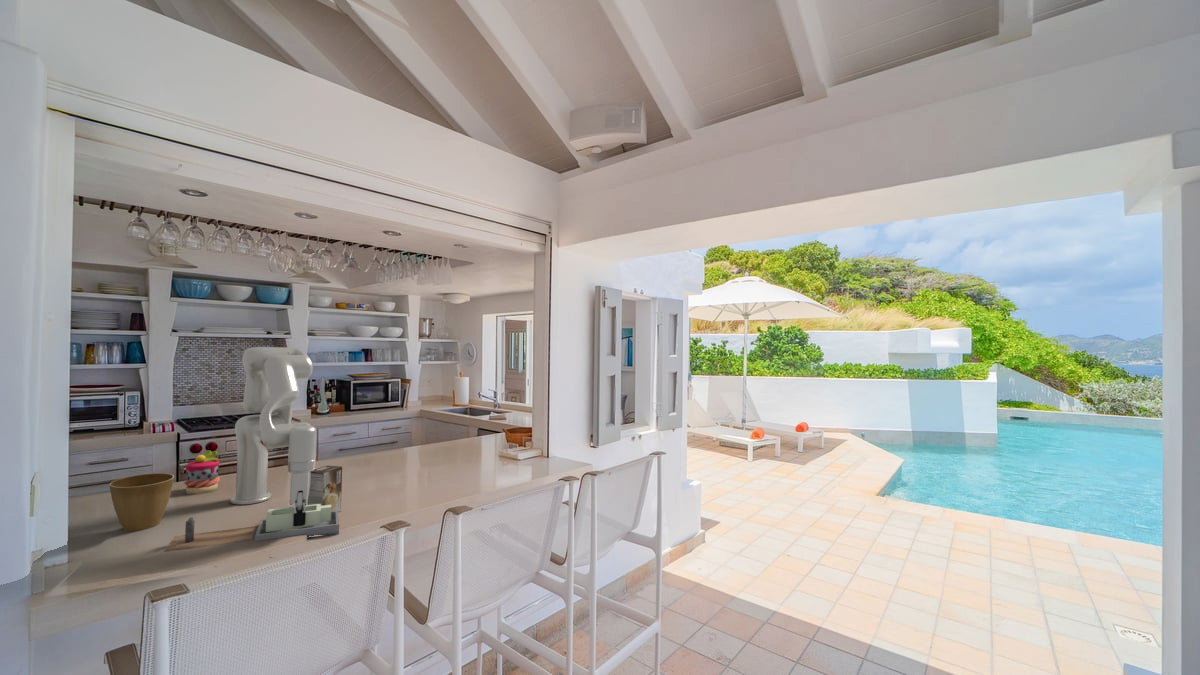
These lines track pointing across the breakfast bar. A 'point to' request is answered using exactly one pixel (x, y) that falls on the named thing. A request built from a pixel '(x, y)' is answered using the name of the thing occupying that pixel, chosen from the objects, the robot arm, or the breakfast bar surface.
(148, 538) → the breakfast bar surface
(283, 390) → the robot arm
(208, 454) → the cake
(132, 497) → the plant pot
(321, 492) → the coffee box
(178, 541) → the board
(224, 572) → the breakfast bar surface
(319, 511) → the collar
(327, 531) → the tray
